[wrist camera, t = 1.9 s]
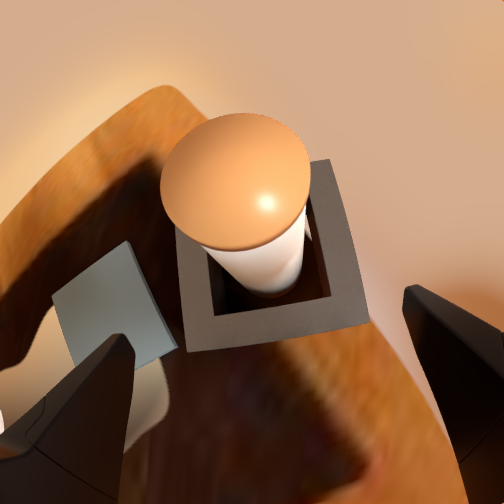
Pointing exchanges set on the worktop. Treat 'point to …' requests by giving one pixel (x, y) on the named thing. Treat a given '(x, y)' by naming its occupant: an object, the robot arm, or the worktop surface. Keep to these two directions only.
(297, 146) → the plug
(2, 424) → the champagne flute
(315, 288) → the worktop surface
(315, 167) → the frame
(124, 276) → the pad
